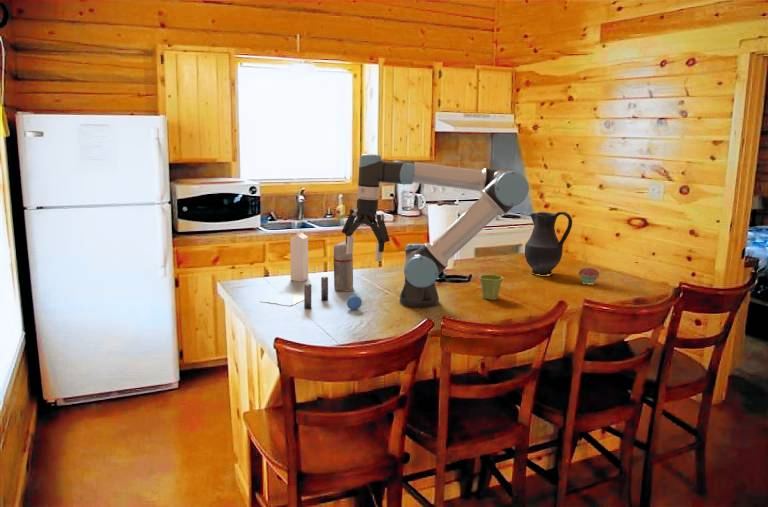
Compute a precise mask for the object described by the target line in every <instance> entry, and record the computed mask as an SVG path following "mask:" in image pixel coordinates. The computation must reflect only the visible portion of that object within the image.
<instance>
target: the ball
mask: <svg viewBox="0 0 768 507" xmlns="http://www.w3.org/2000/svg"><path fill="white" fill-rule="evenodd" d="M346 305H347V308H348V309H350V310H352V311H358V310H359V309H360V308H361V307H362V298H361V297H360V296H359V295H356V294H351V295H350V296H348V297H347V300H346Z"/></svg>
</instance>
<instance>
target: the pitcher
mask: <svg viewBox="0 0 768 507" xmlns="http://www.w3.org/2000/svg"><path fill="white" fill-rule="evenodd" d="M561 215H562V216H564V217H566V218H567V222H568V223H567V226H566V229H565V231H564V233H563V235H562V236H561V238H560V240H559V239H558V237H557V233H556V230H555V225H556V222H557V218H558V217H559V216H561ZM529 216H530V218H531V221H532V223H533V229H532V232H531V234H530V237H529V239H528V240H527V242H526V243H525V245H524V258H525V261H526V263H527V265H529V267H530V268H531V269H532V270H531V272H532V273H534V274H540V275H547V274H551V273H552V271H553V270H554V269H555V268H557V266H558V265H559V263H560V262H561V259H562V257H563V248H564V244H565V242H566V240H567V238H568V236H569V235H570V232H571V230H572V226H573V218H572V217H571V215H570V214H569V213H568V212H566V211H558V212H556V213H553V212H547V211H538V212H534V213H530V214H529ZM552 274H553V273H552Z"/></svg>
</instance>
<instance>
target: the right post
mask: <svg viewBox="0 0 768 507" xmlns="http://www.w3.org/2000/svg"><path fill="white" fill-rule="evenodd" d="M320 279H321V280H320V281H321V282H320V283H321V284H320V287H321V288H320V290H321V292H320V293H321V296H320V298H321V299H320V300H321V301H322V302H328V301H329V277H328V276H321V278H320Z"/></svg>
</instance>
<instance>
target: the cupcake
mask: <svg viewBox="0 0 768 507" xmlns="http://www.w3.org/2000/svg"><path fill="white" fill-rule="evenodd" d="M578 275H579V276H580V279H581V282H584V283H594V284H595V283H596V280H597V279H598V278H599V277H600V272H599V271H598V270H597V269H594V268H592V267H591V268H589V266H588V259H587V258H585V268H581V270H579V271H578Z"/></svg>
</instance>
